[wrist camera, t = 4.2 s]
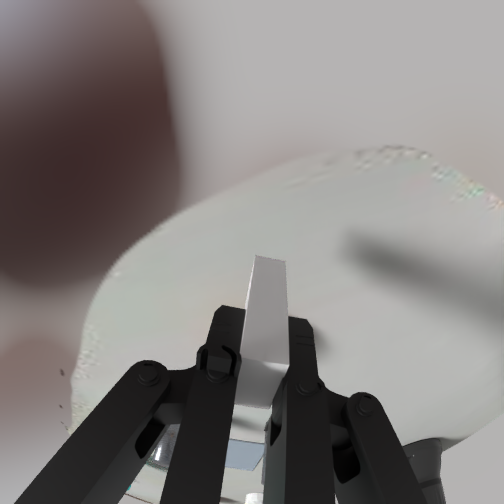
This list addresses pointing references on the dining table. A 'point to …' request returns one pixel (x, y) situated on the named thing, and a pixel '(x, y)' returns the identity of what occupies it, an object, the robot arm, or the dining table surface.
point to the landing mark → (243, 454)
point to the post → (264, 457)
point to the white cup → (254, 498)
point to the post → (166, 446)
